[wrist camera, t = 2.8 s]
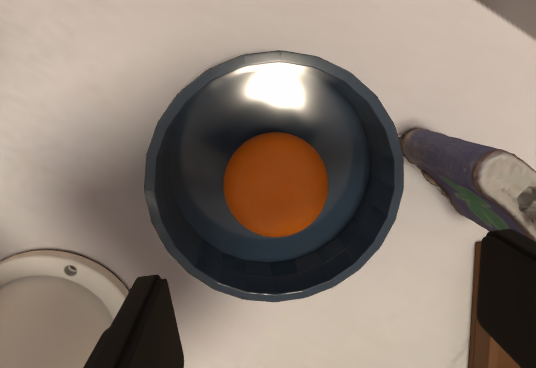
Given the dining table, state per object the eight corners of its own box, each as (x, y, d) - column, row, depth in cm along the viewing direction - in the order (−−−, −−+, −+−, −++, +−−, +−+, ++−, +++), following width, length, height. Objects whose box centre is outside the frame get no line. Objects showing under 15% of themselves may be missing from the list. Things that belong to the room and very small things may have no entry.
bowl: (185, 275, 27) (172, 317, 22) (142, 72, 23) (116, 69, 18) (376, 249, 28) (404, 284, 23) (370, 45, 23) (403, 35, 19)
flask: (391, 145, 25) (493, 187, 15) (422, 115, 25) (548, 137, 15) (466, 223, 28) (599, 306, 17) (495, 197, 27) (650, 266, 17)
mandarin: (232, 220, 25) (229, 263, 19) (219, 132, 24) (210, 149, 17) (319, 208, 26) (344, 248, 19) (313, 120, 24) (337, 133, 18)
